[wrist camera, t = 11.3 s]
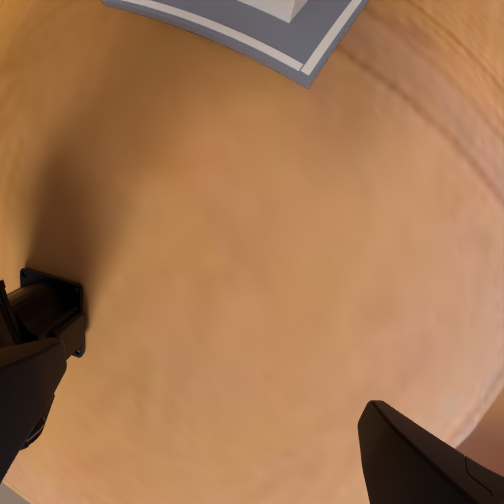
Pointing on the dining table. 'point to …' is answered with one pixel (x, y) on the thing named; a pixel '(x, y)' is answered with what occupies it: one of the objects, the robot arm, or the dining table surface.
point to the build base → (261, 28)
